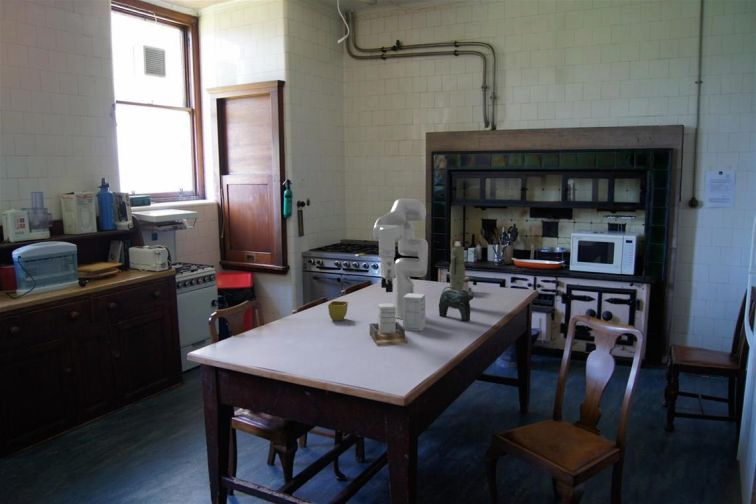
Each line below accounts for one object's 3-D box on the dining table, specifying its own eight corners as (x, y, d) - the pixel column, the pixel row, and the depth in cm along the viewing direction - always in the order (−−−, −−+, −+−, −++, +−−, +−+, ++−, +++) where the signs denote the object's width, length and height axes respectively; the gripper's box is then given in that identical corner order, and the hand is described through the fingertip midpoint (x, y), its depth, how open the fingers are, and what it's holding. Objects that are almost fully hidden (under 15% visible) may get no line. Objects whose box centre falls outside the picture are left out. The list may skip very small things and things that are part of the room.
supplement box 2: (425, 326, 295) (426, 294, 293) (421, 331, 286) (421, 297, 284) (407, 325, 298) (407, 292, 296) (402, 329, 289) (402, 296, 287)
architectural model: (479, 301, 354) (479, 278, 352) (434, 297, 365) (435, 275, 363) (491, 290, 386) (492, 269, 384) (450, 287, 397) (450, 266, 395)
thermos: (445, 308, 335) (446, 247, 330) (452, 303, 345) (453, 245, 340) (460, 309, 331) (461, 248, 326) (467, 305, 341) (468, 245, 337)
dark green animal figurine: (473, 321, 307) (474, 283, 304) (466, 323, 302) (467, 285, 299) (443, 314, 320) (443, 278, 317) (436, 316, 315) (436, 280, 312)
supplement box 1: (378, 329, 279) (378, 303, 277) (393, 328, 280) (393, 303, 278) (380, 333, 272) (380, 307, 270) (395, 333, 272) (396, 306, 271)
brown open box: (398, 333, 283) (398, 322, 283) (407, 343, 266) (407, 332, 265) (369, 334, 281) (369, 323, 280) (377, 345, 263) (377, 333, 262)
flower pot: (344, 322, 303) (344, 305, 302) (327, 321, 305) (327, 304, 304) (348, 318, 312) (348, 301, 311) (332, 317, 314) (332, 300, 312)
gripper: (399, 256, 263) (399, 293, 266) (390, 250, 280) (390, 285, 282) (382, 256, 262) (382, 294, 264) (375, 251, 278) (375, 286, 281)
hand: (386, 289), depth 273 cm, fingers open, 9 cm apart
